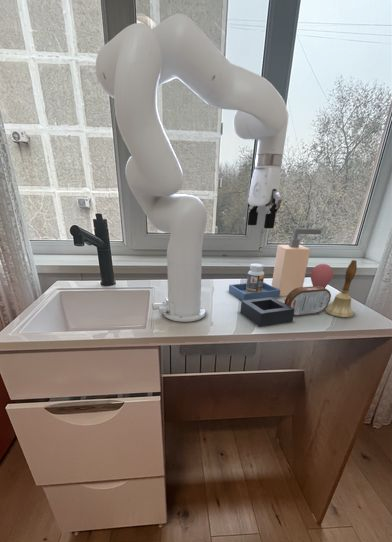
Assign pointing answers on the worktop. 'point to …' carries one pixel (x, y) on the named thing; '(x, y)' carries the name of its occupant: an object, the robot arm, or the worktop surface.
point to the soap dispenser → (291, 263)
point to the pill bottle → (255, 278)
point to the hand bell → (344, 295)
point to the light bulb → (321, 275)
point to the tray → (267, 291)
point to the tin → (308, 300)
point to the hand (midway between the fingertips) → (259, 226)
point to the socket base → (266, 311)
